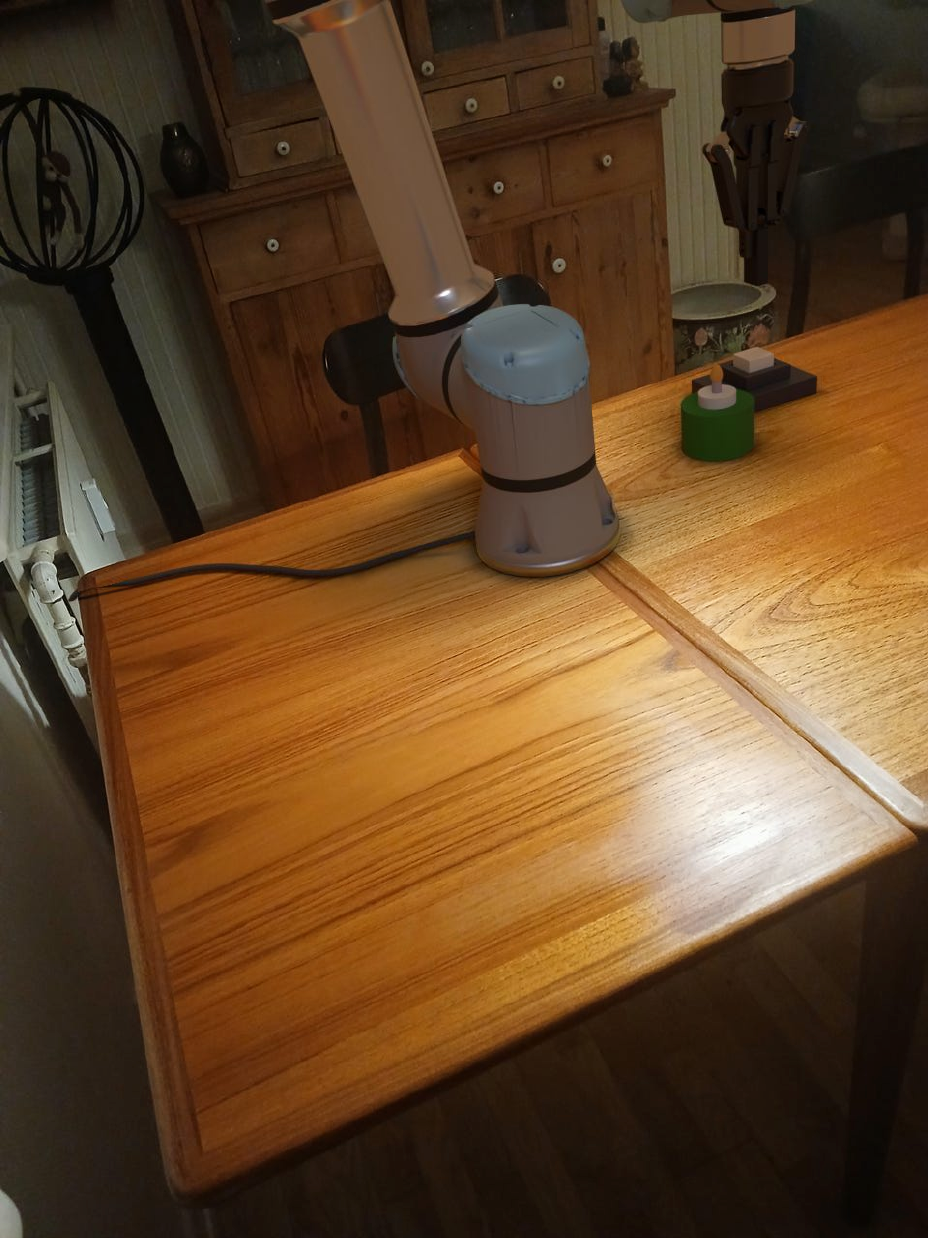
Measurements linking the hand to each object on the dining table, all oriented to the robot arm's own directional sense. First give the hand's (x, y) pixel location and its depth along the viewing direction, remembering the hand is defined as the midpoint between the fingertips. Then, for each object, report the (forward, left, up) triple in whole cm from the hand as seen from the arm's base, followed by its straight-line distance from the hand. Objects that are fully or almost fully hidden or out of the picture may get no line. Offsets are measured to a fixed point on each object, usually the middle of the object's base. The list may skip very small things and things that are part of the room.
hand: (755, 282), depth 116 cm
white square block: (0, 0, -11) cm, 11 cm away
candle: (-12, -10, -14) cm, 21 cm away
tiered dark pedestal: (0, 0, -14) cm, 14 cm away
